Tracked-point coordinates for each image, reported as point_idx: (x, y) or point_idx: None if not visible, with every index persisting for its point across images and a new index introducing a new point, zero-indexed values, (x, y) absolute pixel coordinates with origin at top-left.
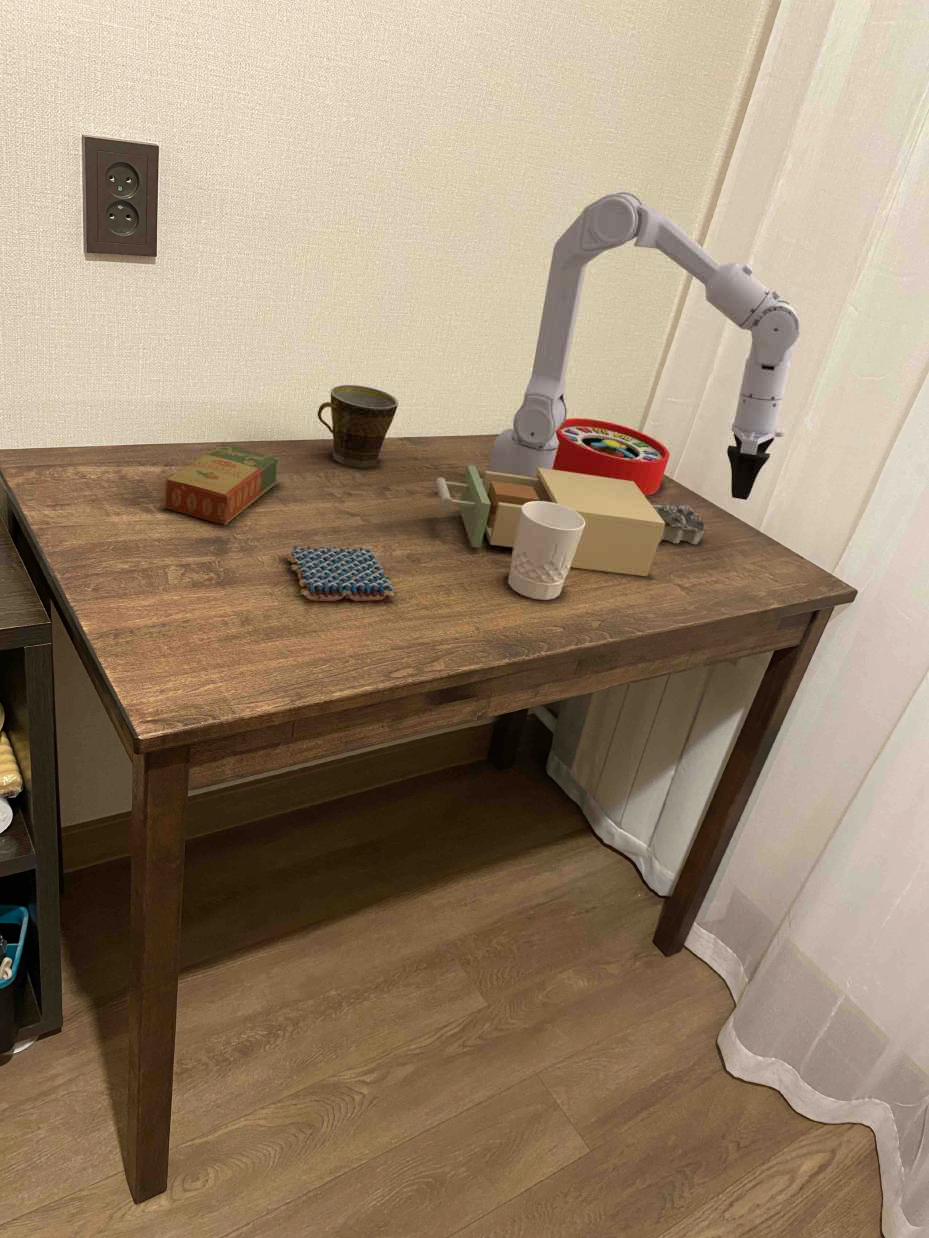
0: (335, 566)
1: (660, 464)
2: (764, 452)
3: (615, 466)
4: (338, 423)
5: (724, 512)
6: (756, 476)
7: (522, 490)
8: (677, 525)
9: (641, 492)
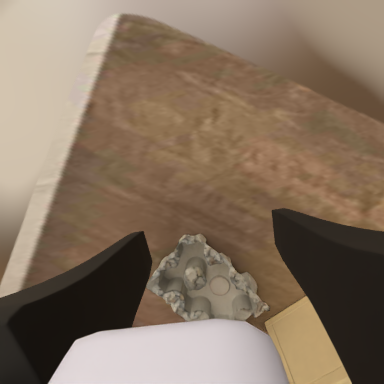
0: None
1: None
2: (85, 279)
3: None
4: None
5: (45, 237)
6: (349, 227)
7: None
8: (234, 274)
9: (341, 382)
